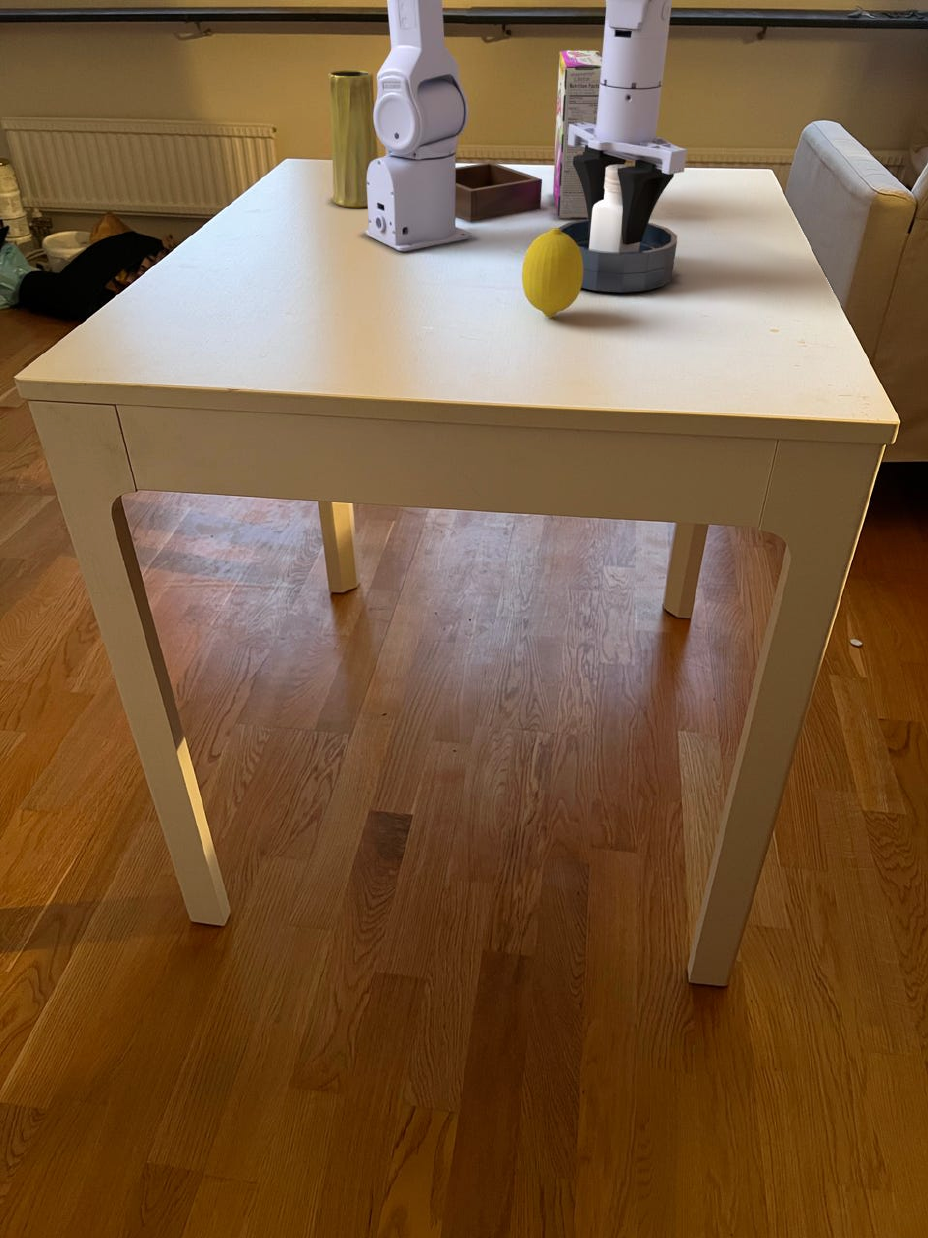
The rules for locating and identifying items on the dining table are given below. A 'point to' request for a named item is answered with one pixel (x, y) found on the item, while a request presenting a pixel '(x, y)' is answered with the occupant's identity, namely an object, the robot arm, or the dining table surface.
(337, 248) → the dining table surface
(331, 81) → the vase
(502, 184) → the box
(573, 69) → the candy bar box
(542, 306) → the lemon
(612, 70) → the robot arm
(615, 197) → the white bottle
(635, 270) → the bowl
